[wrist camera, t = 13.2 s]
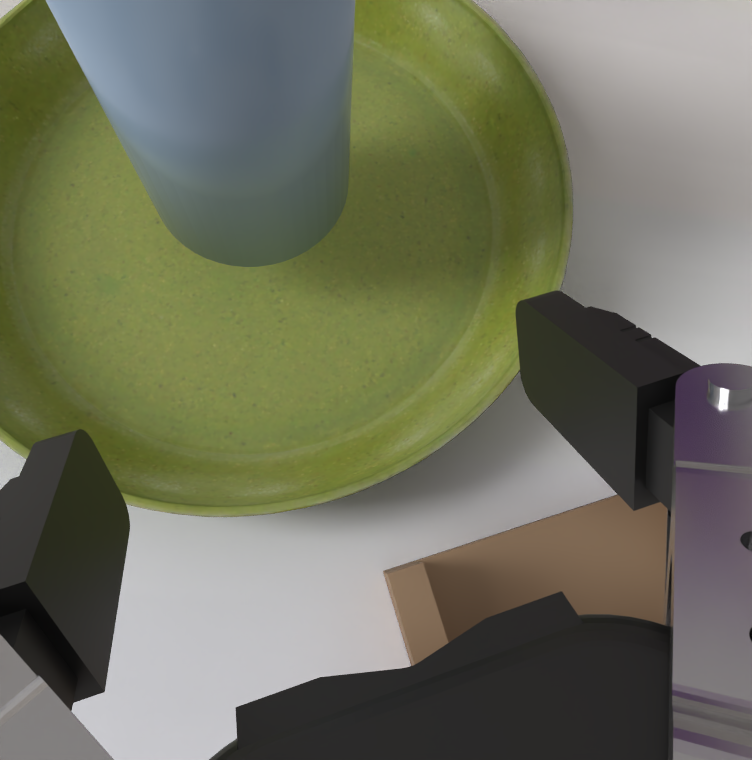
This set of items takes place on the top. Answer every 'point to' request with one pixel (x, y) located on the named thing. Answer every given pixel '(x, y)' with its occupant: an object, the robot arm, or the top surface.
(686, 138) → the top surface
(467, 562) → the holder
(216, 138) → the pale blue smooth-sided part
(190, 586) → the top surface
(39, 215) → the saucer
